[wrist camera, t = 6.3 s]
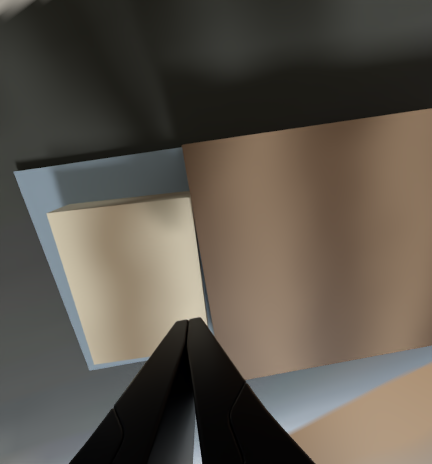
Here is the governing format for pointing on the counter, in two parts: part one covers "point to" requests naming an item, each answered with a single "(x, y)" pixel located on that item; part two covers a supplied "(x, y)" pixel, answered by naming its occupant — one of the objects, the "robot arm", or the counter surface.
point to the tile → (130, 270)
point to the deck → (316, 241)
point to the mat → (97, 189)
